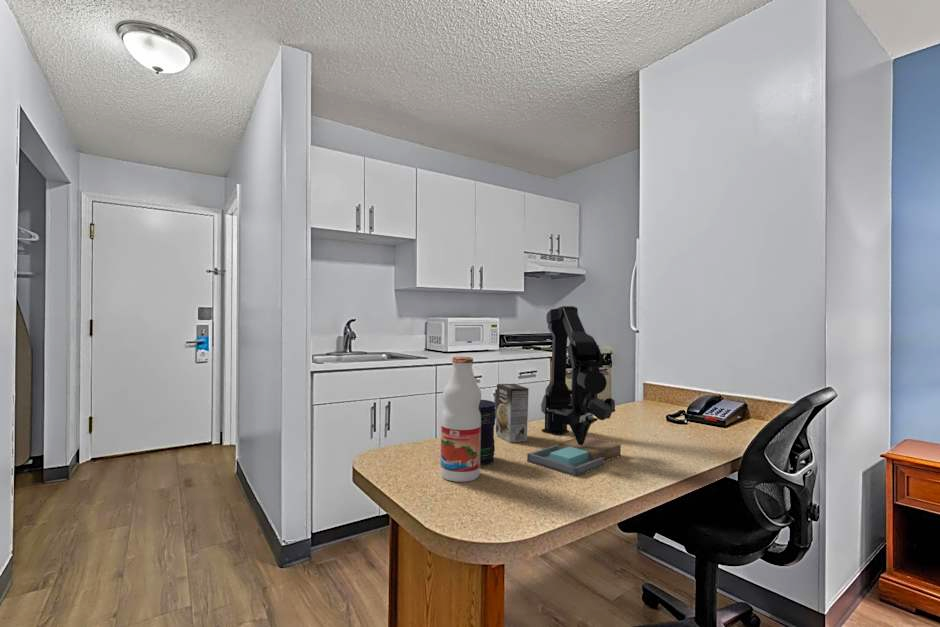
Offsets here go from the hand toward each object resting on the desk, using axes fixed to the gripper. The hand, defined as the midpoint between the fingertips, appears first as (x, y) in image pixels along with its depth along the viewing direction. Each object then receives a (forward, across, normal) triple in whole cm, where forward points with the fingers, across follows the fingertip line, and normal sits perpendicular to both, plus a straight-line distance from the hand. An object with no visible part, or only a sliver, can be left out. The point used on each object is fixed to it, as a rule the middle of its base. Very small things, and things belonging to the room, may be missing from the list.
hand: (580, 444), depth 130 cm
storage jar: (+4, -23, +16) cm, 29 cm away
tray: (+4, -7, 0) cm, 8 cm away
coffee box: (+4, 0, +25) cm, 25 cm away
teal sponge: (+3, -6, 0) cm, 6 cm away
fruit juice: (+4, -34, +10) cm, 36 cm away
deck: (+4, +4, 0) cm, 6 cm away
